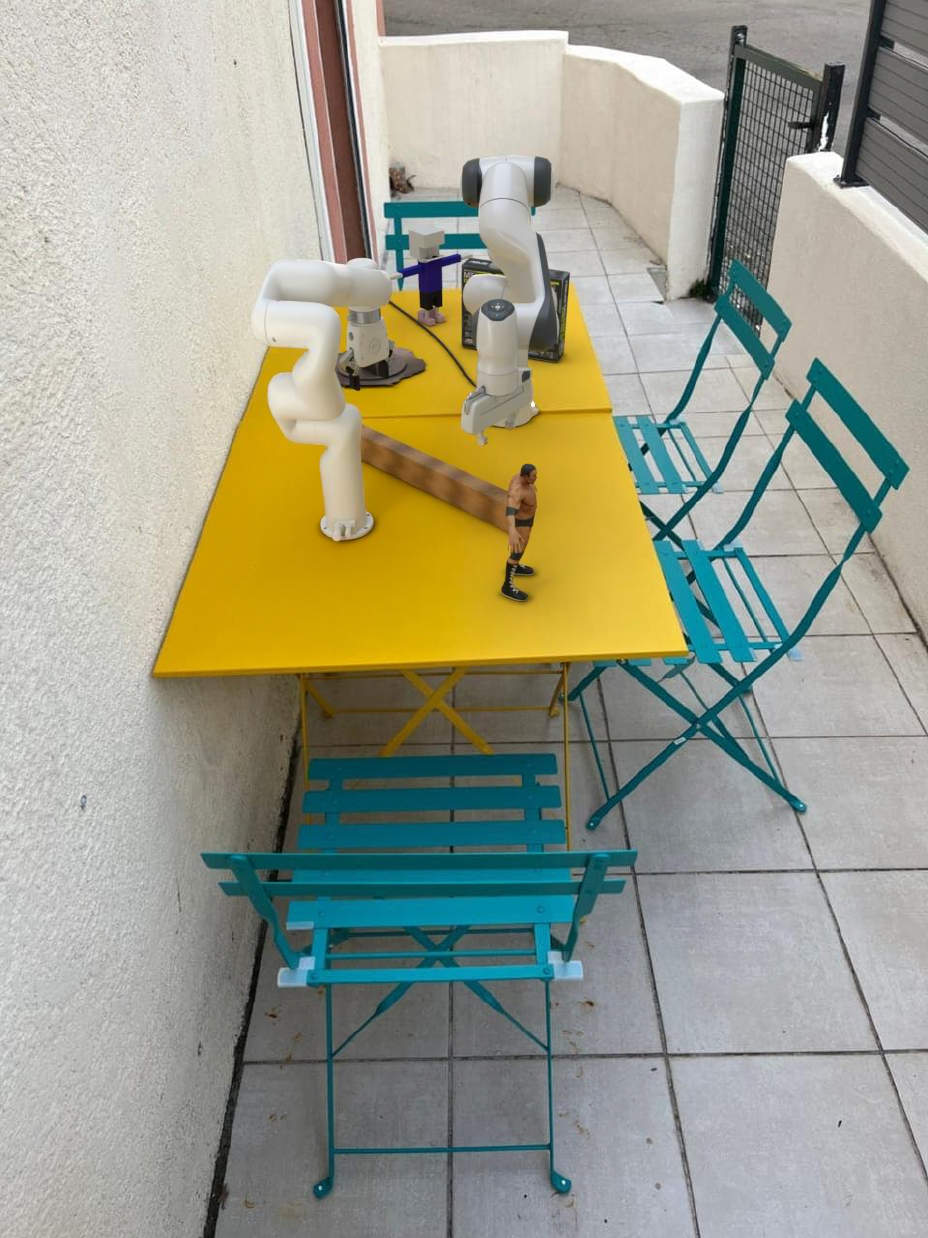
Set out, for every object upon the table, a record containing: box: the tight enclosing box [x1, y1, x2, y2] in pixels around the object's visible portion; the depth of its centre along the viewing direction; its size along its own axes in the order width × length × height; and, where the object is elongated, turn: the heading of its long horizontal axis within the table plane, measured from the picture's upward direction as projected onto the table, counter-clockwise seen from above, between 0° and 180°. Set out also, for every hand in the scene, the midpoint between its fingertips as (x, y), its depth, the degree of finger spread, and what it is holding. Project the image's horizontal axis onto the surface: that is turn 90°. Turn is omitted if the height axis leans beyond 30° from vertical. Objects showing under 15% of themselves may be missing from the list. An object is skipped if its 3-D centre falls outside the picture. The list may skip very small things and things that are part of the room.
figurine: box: [500, 463, 538, 602], centre depth 184 cm, size 24×6×30 cm, turn 168°
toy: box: [387, 223, 474, 327], centre depth 298 cm, size 35×10×30 cm, turn 130°
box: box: [460, 257, 571, 363], centre depth 279 cm, size 34×7×27 cm, turn 68°
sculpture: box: [335, 346, 426, 387], centre depth 273 cm, size 33×35×16 cm
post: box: [361, 423, 508, 533], centre depth 222 cm, size 56×5×8 cm, turn 48°
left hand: (369, 383), depth 220 cm, fingers open, 9 cm apart
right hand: (496, 436), depth 200 cm, fingers open, 8 cm apart
